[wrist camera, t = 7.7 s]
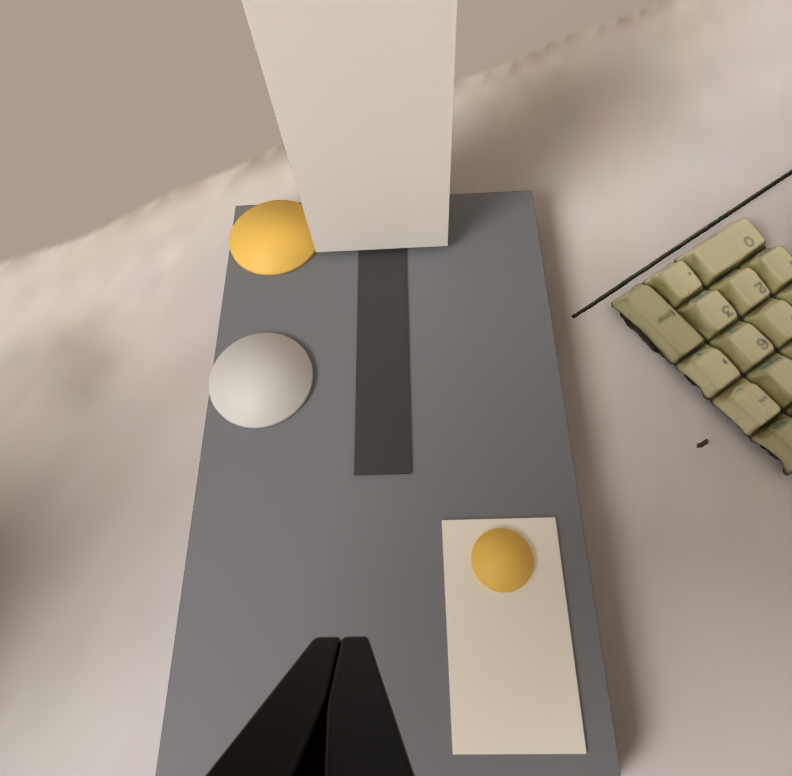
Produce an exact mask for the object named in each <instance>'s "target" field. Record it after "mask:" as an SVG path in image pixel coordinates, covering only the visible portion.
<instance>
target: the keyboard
mask: <svg viewBox="0 0 792 776" xmlns="http://www.w3.org/2000/svg"><path fill="white" fill-rule="evenodd" d="M791 174H792V170H791V171H789V172H788V173H786V174H785V175H783V176H782V177H780V178H778V179H777V180H775V181H774V182H772V183H771V184H769V185H768V186H766V187H764V188H763V189H762V190H760V191H759V192H757V193H755V194H754V195H752V196H751V197H749V198H748V199H746V200H745V201H743V202H742V203H741V204H739V205H737V206H736V207H735V208H733V209H732V210H730V211H728V212H727V213H725V214H723V215H722V216H720V217H719V218H718V219H717V220H715V221H713V222H711V223H710V224H708V225H707V226H705V227H704V228H702V229H701V230H699V231H698V232H696V233H695V234H694V235H692V236H690V237H689V238H687V239H686V240H685V241H683V242H682V243H680V244H679V245H677V246H676V247H674V248H672V249H671V250H669V251H668V252H666V253H665V254H663V255H662V256H660V257H659V258H658V259H656V260H654V261H653V262H652V263H650V264H649V265H647V266H646V267H644V268H642V269H641V270H639V271H638V272H637V273H635V274H634V275H632V276H630V277H629V278H627V279H626V280H624V281H623V282H621V283H620V284H619V285H617V286H616V287H614V288H613V289H611V290H610V291H608V292H607V293H605V294H604V295H602V296H601V297H599V298H598V299H596V300H595V301H594V302H592V303H590V304H589V305H588V306H586V307H585V308H583V309H581V310H580V311H579V312H577V313H576V314H573V315H572V317H573V318H575V317H577V316H578V315H579V314H581V313H583V312H585V311H586V310H588V309H590V308H591V307H593V306H594V305H596V304H597V303H598V302H600V301H602V300H603V299H605V298H606V297H608V296H609V295H611V294H612V293H614V292H615V291H617V290H618V289H620V288H621V287H623V286H624V285H626V284H627V283H628V282H630V281H631V280H632V279H634V278H635V277H637V276H638V275H640V274H641V273H643V272H645V271H646V270H648V269H649V268H651V267H652V266H654V265H655V264H657V263H658V262H660V261H661V260H662V259H664V258H665V257H667V256H668V255H670V254H671V253H673V252H675V251H676V250H678V249H680V248H681V247H682V246H684V245H685V244H686V243H688V242H690V241H691V240H692V239H694V238H696V237H697V236H699V235H700V234H702V233H704V232H705V231H707V230H708V229H710V228H711V227H713V226H714V225H716V224H717V223H719V222H720V221H721V220H723V219H725V218H726V217H728V216H729V215H731V214H732V213H734V212H735V211H737V210H738V209H740V208H741V207H743V206H744V205H746V204H747V203H749V202H750V201H752V200H753V199H755V198H756V197H758V196H759V195H761V194H762V193H764V192H765V191H767V190H768V189H770V188H772V187H773V186H774V185H776V184H777V183H779V182H780V181H782V180H783V179H785V178H786V177H788V176H790V175H791ZM611 306H612V307H613V308H615V309H616V310H618V311H620V316H621V317H622V318H623V319H624V321H625V322H626V324H627V325H628V326H629V327H630V328H631V329H633V330H634V331H636V332H637V333H638V334H639V336H640V337H641V339H642V340H643V341H644V342H646V343H647V345H648V346H649V347H650V348H651V349H652V350H653V351H654V352H657V353H659V354H660V355H661V356H662V357H664V358H665V359H666V360H667V361H668V362H669V363H670V364H674V365H675V366H676V369H677V370H679V371H681V372H682V373H684V374H685V377H686V378H687V379H688V380H689V381H690V382H691V384H693V385H695V386H698V387H699V388H700V389H701V391H702V393H703V396H704V397H705V398H706V399H708V400H710V401H711V403H712V404H713V405H714V406H716V407H717V408H719V409H720V410H722V411H723V412H724V413H725V414H726V415H727V417H728V418H729V419H731V420H732V421H734V422H735V423H736V424H737V425H738V426H740V428H741V429H742V430H743V432H744V434H745V435H746V436H748V437H749V438H750V440H751V441H752V442H755V443H758V444H760V446H761V448H763V449H766V450H767V451H768V452H769V454H770V455H771V456H773V457H775V458H776V459H778V460H781V462H782V465H783V472H784V474H785V475H790V474H792V256H791V255H790V254H789V253H788V252H787V250H785V248H783V247H782V246H777V247H775V248H766V247H765V238H764V237H763V236H762V235H761V233H760V232H759V231H758V230H757V229H756V228H755V227H754V225H753V224H752V223H751V222H750V221H749V220H748V219H747V218H742V219H739V220H737V221H733V222H731V223H729V224H728V225H726V226H725V227H724V228H722V229H721V230H719V231H718V232H716V233H715V234H713V235H712V236H710V237H709V238H707V239H706V240H704V241H703V242H701V243H700V244H698V245H697V246H695V247H693V248H692V249H691V250H689V251H688V252H686V253H684V254H683V255H681V256H680V257H678V258H677V259H675V260H674V262H673V263H670V264H668V265H667V266H666V267H664V268H663V269H661V270H660V271H658V272H657V273H655V274H654V275H652V276H651V277H650V278H648V279H646V280H645V281H644V282H643V284H638V285H636V286H635V287H633V288H632V289H631V290H630V291H629V292H627V293H626V294H624V295H622V296H621V297H619V298H617V299H616V300H614V301H613V302H612V303H611ZM760 426H762V427H760ZM707 443H708V440H707V439H705V440H704V441H702V442H701V443H698V444H697V448H701V447H703V446H704V445H706V444H707Z"/></svg>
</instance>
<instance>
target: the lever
mask: <svg viewBox="0 0 792 776" xmlns="http://www.w3.org/2000/svg"><path fill="white" fill-rule="evenodd" d="M242 3H243V6H244V10H245V13H246V17H247V20H248V23H249V27H250V30H251V34H252V37H253V40H254V44H255V47H256V51H257V54H258V57H259V61H260V64H261V67H262V71H263V74H264V78H265V81H266V85H267V88H268V91H269V95H270V98H271V101H272V105H273V108H274V112H275V115H276V119H277V122H278V125H279V129H280V132H281V136H282V139H283V142H284V146H285V149H286V153H287V156H288V159H289V163H290V166H291V170H292V173H293V176H294V180H295V183H296V187H297V190H298V193H299V197H300V200H301V204H302V207H303V210H304V214H305V217H306V221H307V224H308V227H309V231H310V234H311V238H312V241H313V244H314V248H315V251H316V252H333V251H353V250H374V249H395V248H416V247H436V246H448V222H449V196H450V170H451V144H452V118H453V92H454V65H455V40H456V14H457V13H456V12H457V0H242Z"/></svg>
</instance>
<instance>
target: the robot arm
mask: <svg viewBox="0 0 792 776" xmlns="http://www.w3.org/2000/svg"><path fill="white" fill-rule="evenodd" d="M205 776H415V774H414V771H413V768H412V765H411V762H410V759H409V756H408V753H407V750H406V747H405V744H404V741H403V738H402V735H401V732H400V730H399V727H398V724H397V721H396V718H395V715H394V712H393V709H392V706H391V703H390V700H389V697H388V694H387V691H386V688H385V685H384V682H383V679H382V676H381V673H380V670H379V667H378V664H377V661H376V658H375V655H374V652H373V649H372V646H371V643H370V641H369V639H368V638H367V637H366V636H347V637H344V638H343V639H342V640H341V639H340V638H339V637H316V638H315V639H313V640H312V641H311V643H310V644H309V645H308V646H307V648H306V649H305V650H304V652H303V653H302V654H301V655H300V657H299V658H298V659H297V660H296V662H295V663H294V664H293V665H292V667H291V668H290V669H289V671H288V672H287V673H286V674H285V676H284V677H283V678H282V679H281V681H280V682H279V683H278V684H277V686H276V687H275V688H274V689H273V691H272V692H271V693H270V695H269V696H268V697H267V698H266V700H265V701H264V702H263V703H262V705H261V706H260V707H259V708H258V710H257V711H256V712H255V713H254V715H253V716H252V717H251V719H250V720H249V721H248V722H247V724H246V725H245V726H244V727H243V729H242V730H241V731H240V732H239V734H238V735H237V736H236V737H235V739H234V740H233V741H232V743H231V744H230V745H229V746H228V748H227V749H226V750H225V751H224V753H223V754H222V755H221V756H220V758H219V759H218V760H217V762H216V763H215V764H214V765H213V767H212V768H211V769H210V770H209V772H208V773H207V774H206V775H205Z"/></svg>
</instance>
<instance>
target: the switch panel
mask: <svg viewBox="0 0 792 776" xmlns="http://www.w3.org/2000/svg"><path fill="white" fill-rule="evenodd" d="M229 247H230V251H229V258H228V265H227V272H226V279H225V287H224V294H223V301H222V308H221V315H220V322H219V329H218V336H217V343H216V350H215V357H214V365H213V367H212V370H211V373H210V377H209V400H208V407H207V414H206V421H205V428H204V436H203V443H202V450H201V457H200V464H199V471H198V478H197V485H196V492H195V499H194V506H193V514H192V521H191V528H190V535H189V542H188V549H187V556H186V563H185V570H184V577H183V584H182V592H181V599H180V606H179V613H178V620H177V627H176V634H175V641H174V648H173V655H172V662H171V670H170V677H169V684H168V691H167V698H166V705H165V712H164V719H163V726H162V733H161V741H160V748H159V755H158V762H157V769H156V776H205V775H206V774H207V773H208V772H209V770H210V769H211V768H212V767H213V765H214V764H215V763H216V762H217V760H218V759H219V758H220V756H221V755H222V754H223V753H224V751H225V750H226V749H227V748H228V746H229V745H230V744H231V743H232V741H233V740H234V739H235V737H236V736H237V735H238V734H239V732H240V731H241V730H242V729H243V727H244V726H245V725H246V724H247V722H248V721H249V720H250V719H251V717H252V716H253V715H254V713H255V712H256V711H257V710H258V708H259V707H260V706H261V705H262V703H263V702H264V701H265V700H266V698H267V697H268V696H269V695H270V693H271V692H272V691H273V689H274V688H275V687H276V686H277V684H278V683H279V682H280V681H281V679H282V678H283V677H284V676H285V674H286V673H287V672H288V671H289V669H290V668H291V667H292V665H293V664H294V663H295V662H296V660H297V659H298V658H299V657H300V655H301V654H302V653H303V652H304V650H305V649H306V648H307V646H308V645H309V644H310V643H311V641H312V640H313V639H315V638H316V637H339V638H340V639H341V640H342V639H343V638H344V637H347V636H366V637H367V638H368V639H369V641H370V643H371V646H372V649H373V652H374V655H375V658H376V661H377V664H378V667H379V670H380V673H381V676H382V679H383V682H384V685H385V688H386V691H387V694H388V697H389V700H390V703H391V706H392V709H393V712H394V715H395V718H396V721H397V724H398V727H399V730H400V732H401V735H402V738H403V741H404V744H405V747H406V750H407V753H408V756H409V759H410V762H411V765H412V768H413V771H414V774H415V776H621V774H620V767H619V761H618V754H617V748H616V741H615V734H614V728H613V721H612V715H611V708H610V701H609V695H608V688H607V682H606V675H605V669H604V662H603V655H602V649H601V642H600V636H599V629H598V623H597V616H596V609H595V603H594V596H593V590H592V583H591V577H590V570H589V563H588V557H587V550H586V544H585V537H584V531H583V524H582V517H581V511H580V504H579V498H578V491H577V485H576V478H575V471H574V465H573V458H572V452H571V445H570V439H569V432H568V425H567V419H566V412H565V406H564V399H563V393H562V386H561V379H560V373H559V366H558V360H557V353H556V347H555V340H554V333H553V327H552V320H551V314H550V307H549V301H548V294H547V287H546V281H545V274H544V268H543V261H542V255H541V248H540V241H539V235H538V228H537V222H536V215H535V208H534V202H533V195H532V190H531V191H512V192H493V193H474V194H455V195H450V196H449V222H448V246H436V247H416V248H395V249H374V250H353V251H333V252H316V251H315V248H314V244H313V241H312V238H311V234H310V231H309V227H308V224H307V221H306V217H305V214H304V210H303V207H302V204H301V203H297V202H293V201H287V200H275V201H269V202H265V203H261V204H259V205H245V206H236V209H235V216H234V223H233V228H232V230H231V232H230V237H229Z"/></svg>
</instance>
